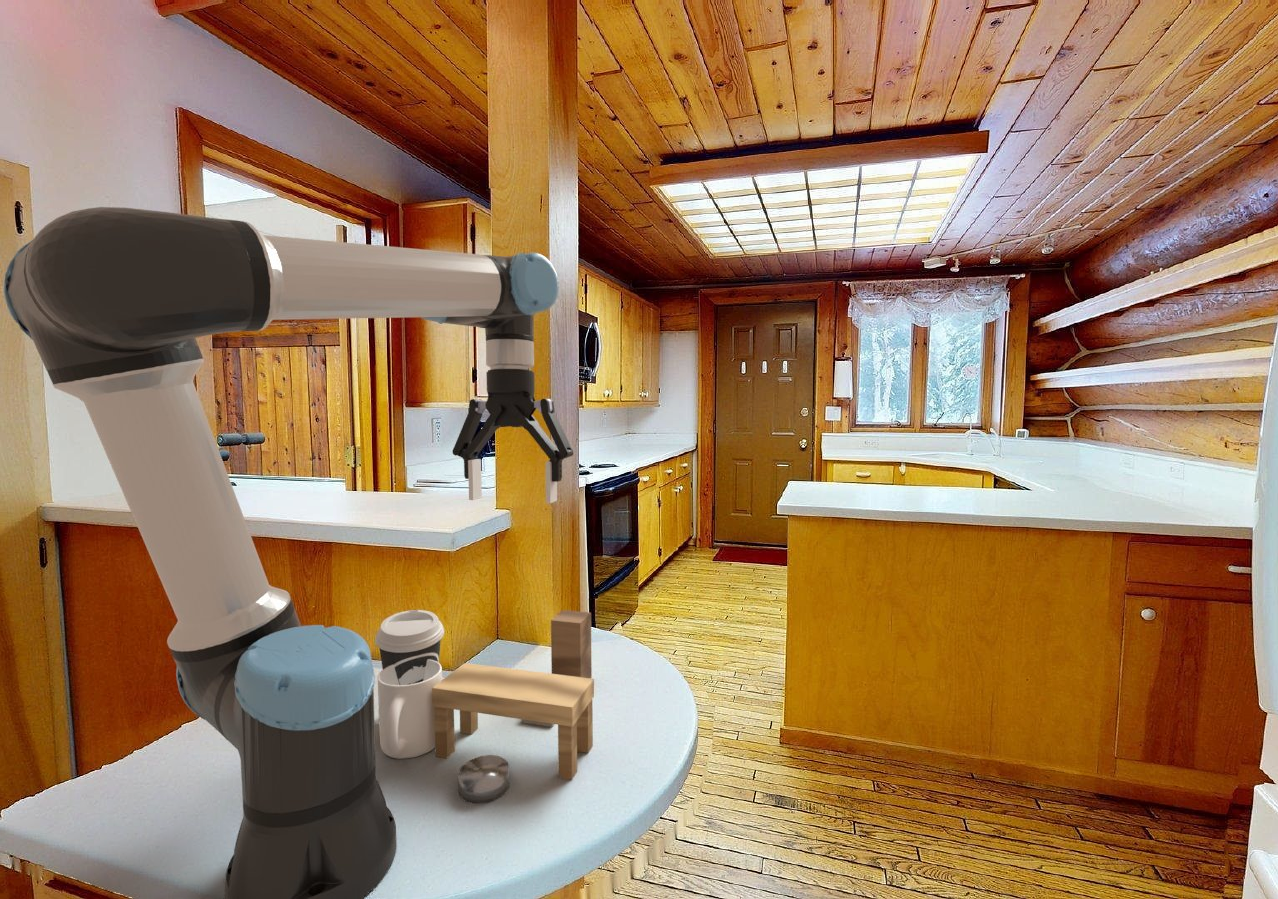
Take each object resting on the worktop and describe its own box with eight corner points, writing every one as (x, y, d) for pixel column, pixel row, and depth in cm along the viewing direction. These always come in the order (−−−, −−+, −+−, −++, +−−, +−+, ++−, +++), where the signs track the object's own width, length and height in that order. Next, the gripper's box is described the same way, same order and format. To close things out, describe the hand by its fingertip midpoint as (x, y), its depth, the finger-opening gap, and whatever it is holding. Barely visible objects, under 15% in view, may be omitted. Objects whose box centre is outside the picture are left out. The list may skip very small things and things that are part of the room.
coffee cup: (457, 699, 93) (455, 611, 90) (425, 739, 84) (422, 642, 81) (401, 690, 95) (398, 604, 92) (364, 729, 85) (359, 634, 83)
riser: (573, 780, 74) (572, 707, 73) (433, 756, 79) (431, 688, 78) (594, 745, 81) (593, 678, 81) (466, 725, 87) (464, 663, 86)
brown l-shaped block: (553, 727, 86) (552, 650, 85) (520, 722, 88) (519, 647, 87) (591, 677, 102) (591, 612, 101) (563, 674, 103) (562, 610, 103)
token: (492, 809, 69) (492, 789, 68) (448, 799, 70) (448, 779, 70) (518, 779, 74) (517, 760, 74) (476, 770, 76) (476, 752, 76)
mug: (423, 778, 74) (421, 700, 73) (357, 779, 74) (354, 701, 73) (451, 725, 86) (449, 658, 85) (394, 726, 86) (391, 658, 85)
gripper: (592, 368, 94) (593, 499, 96) (454, 371, 101) (457, 494, 102) (575, 365, 87) (576, 507, 89) (428, 368, 94) (431, 501, 95)
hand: (512, 500), depth 95 cm, fingers open, 13 cm apart
